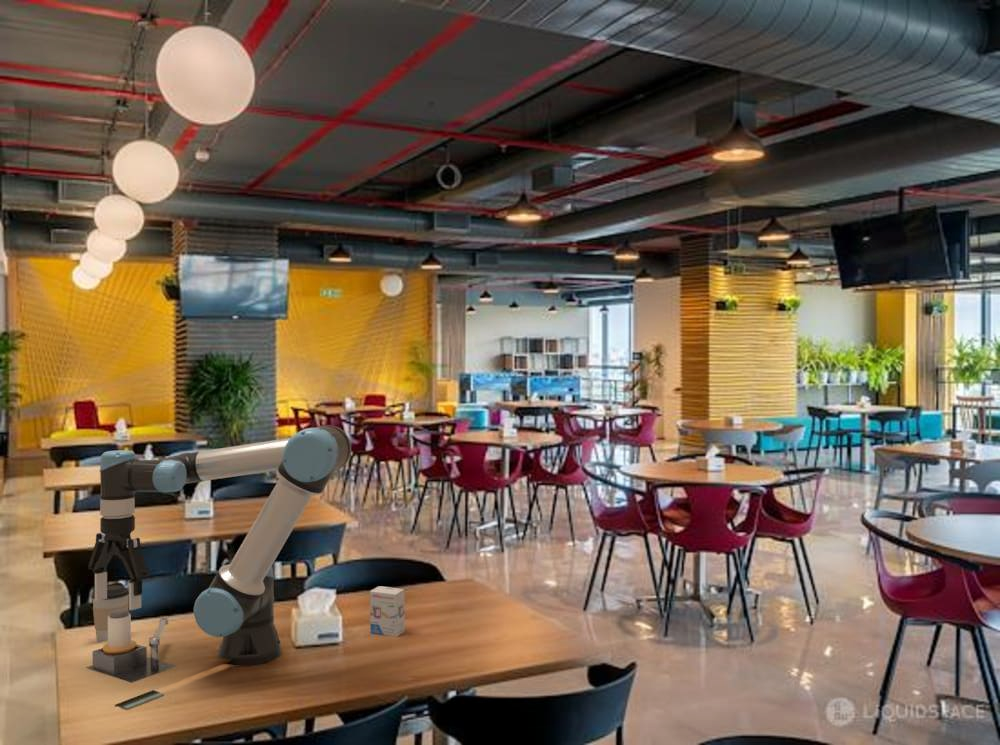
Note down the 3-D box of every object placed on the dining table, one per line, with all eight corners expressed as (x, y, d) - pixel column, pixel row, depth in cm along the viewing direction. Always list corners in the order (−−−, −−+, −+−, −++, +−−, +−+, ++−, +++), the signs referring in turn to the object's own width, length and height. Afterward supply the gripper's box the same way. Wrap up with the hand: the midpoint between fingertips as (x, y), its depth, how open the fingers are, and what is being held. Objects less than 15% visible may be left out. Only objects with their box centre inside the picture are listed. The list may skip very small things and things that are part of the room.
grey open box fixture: (177, 672, 200) (176, 644, 200) (131, 689, 190) (131, 660, 190) (131, 658, 210) (130, 632, 210) (85, 673, 200) (85, 646, 200)
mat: (164, 695, 186) (164, 693, 186) (127, 709, 179) (127, 707, 179) (139, 687, 191) (139, 685, 191) (102, 701, 184) (102, 699, 184)
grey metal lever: (159, 646, 199) (159, 639, 199) (148, 647, 198) (148, 640, 198) (169, 623, 217) (169, 616, 216) (159, 623, 216) (159, 617, 216)
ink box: (369, 633, 228) (368, 590, 228) (378, 628, 233) (378, 585, 233) (396, 637, 225) (396, 593, 225) (405, 631, 230) (405, 588, 230)
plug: (142, 663, 202) (142, 610, 202) (115, 673, 196) (114, 618, 196) (124, 658, 206) (123, 605, 206) (96, 667, 200) (96, 613, 200)
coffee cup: (115, 648, 217) (114, 591, 217) (84, 646, 219) (83, 589, 219) (137, 637, 226) (136, 582, 226) (107, 635, 228) (106, 580, 228)
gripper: (164, 518, 197) (164, 608, 197) (101, 508, 210) (101, 592, 211) (135, 523, 191) (135, 616, 191) (72, 512, 204) (72, 599, 204)
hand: (117, 604), depth 201 cm, fingers open, 13 cm apart
